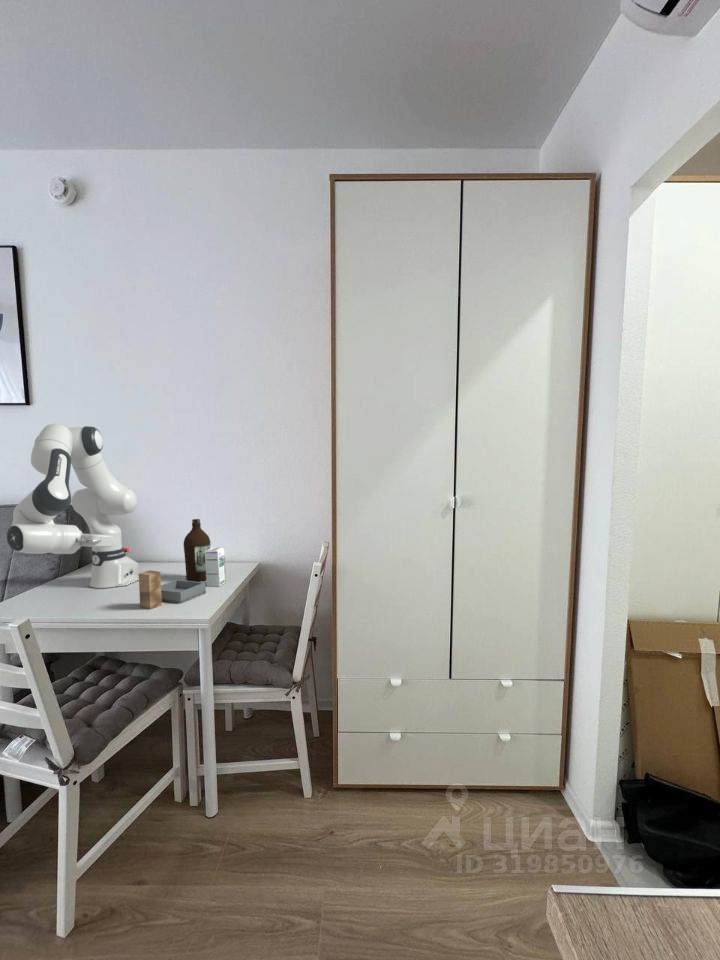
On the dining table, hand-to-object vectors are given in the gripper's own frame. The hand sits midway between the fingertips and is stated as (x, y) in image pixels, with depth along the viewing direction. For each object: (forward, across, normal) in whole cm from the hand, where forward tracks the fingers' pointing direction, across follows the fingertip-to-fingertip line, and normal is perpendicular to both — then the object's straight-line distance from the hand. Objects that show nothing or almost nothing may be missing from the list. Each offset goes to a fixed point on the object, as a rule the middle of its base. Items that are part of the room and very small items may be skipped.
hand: (107, 540), depth 180 cm
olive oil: (+52, +10, +16) cm, 55 cm away
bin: (+32, -1, +20) cm, 37 cm away
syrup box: (+49, -2, +17) cm, 52 cm away
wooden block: (+19, -2, +22) cm, 29 cm away
